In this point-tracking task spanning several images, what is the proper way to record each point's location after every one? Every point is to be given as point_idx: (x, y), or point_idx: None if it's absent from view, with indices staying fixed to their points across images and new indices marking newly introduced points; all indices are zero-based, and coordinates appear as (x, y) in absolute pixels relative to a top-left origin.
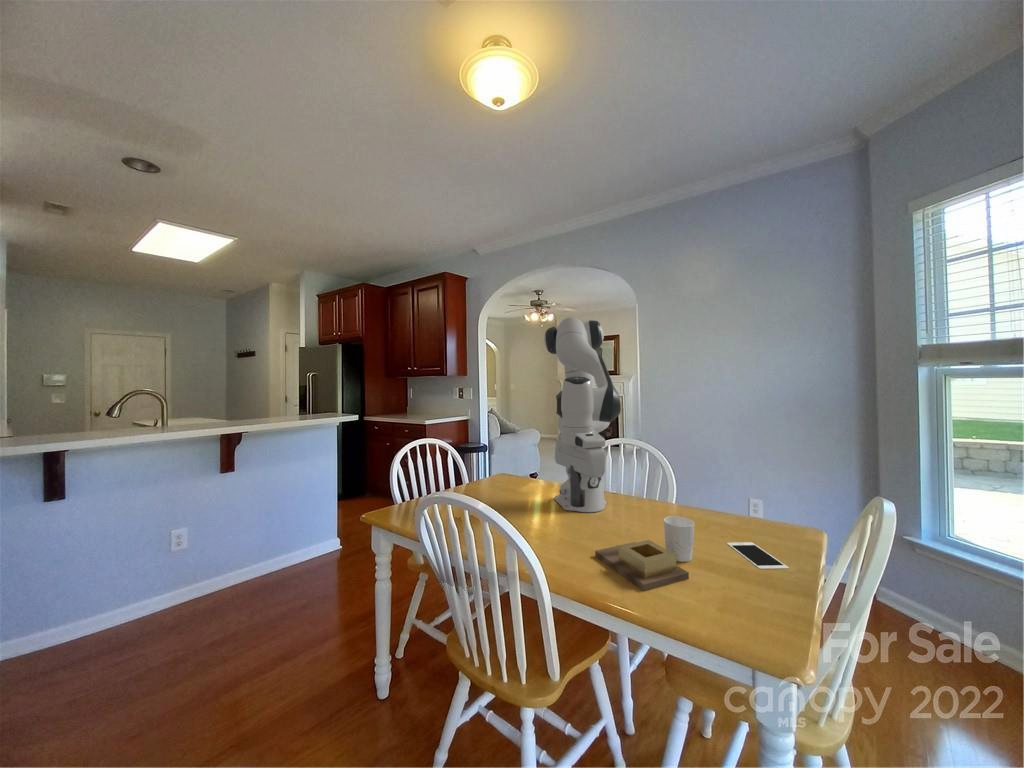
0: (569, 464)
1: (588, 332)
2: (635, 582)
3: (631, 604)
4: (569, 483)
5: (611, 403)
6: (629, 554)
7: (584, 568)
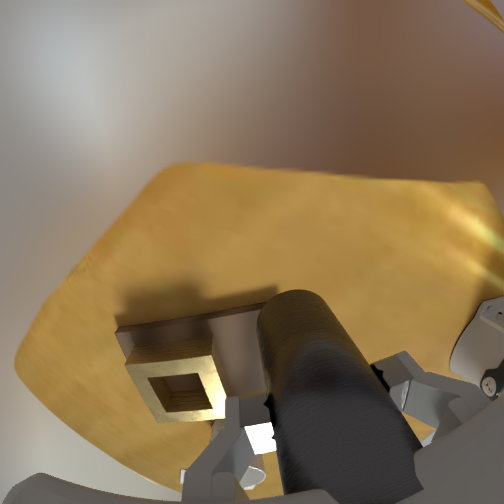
0: (440, 482)
1: None
2: (137, 326)
3: (81, 284)
4: None
5: None
6: (170, 358)
7: (222, 251)
